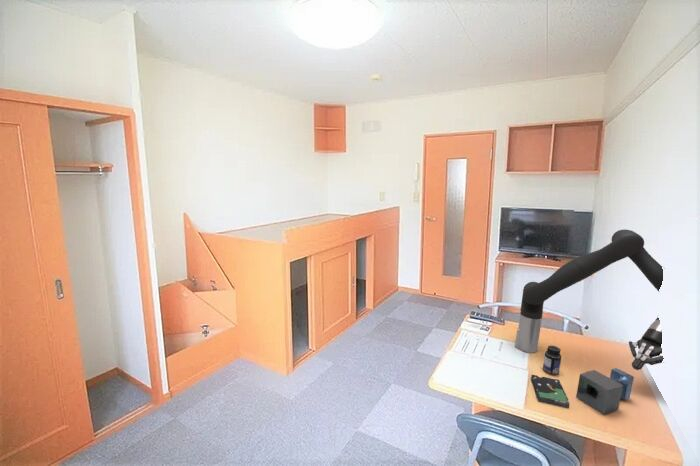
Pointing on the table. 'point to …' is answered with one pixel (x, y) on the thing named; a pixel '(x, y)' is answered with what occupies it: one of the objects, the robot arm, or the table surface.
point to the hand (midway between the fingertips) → (634, 368)
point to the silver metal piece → (621, 382)
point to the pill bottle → (552, 360)
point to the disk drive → (549, 391)
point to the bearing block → (599, 392)
